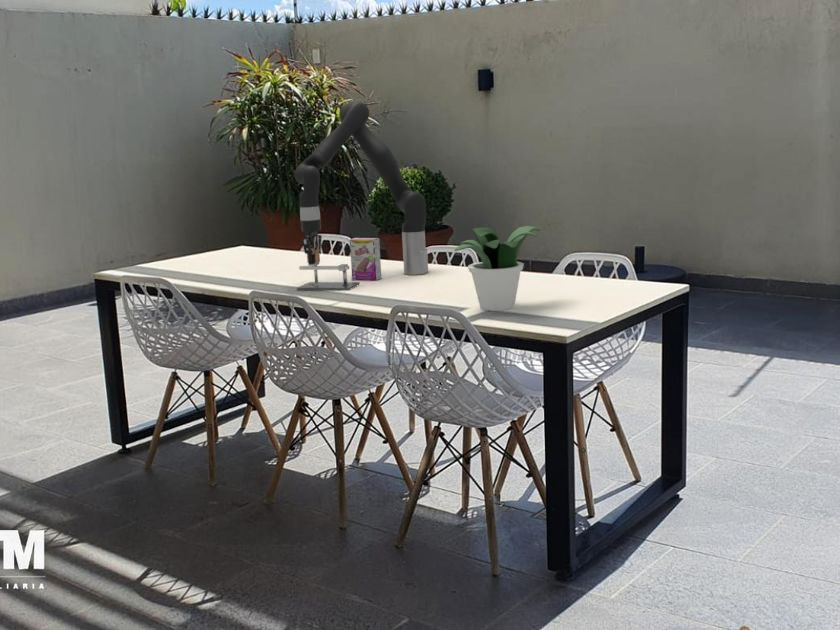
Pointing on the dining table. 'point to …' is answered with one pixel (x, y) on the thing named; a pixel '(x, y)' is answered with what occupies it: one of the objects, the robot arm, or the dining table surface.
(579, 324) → the dining table surface
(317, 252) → the block
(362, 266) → the candy bar box
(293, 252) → the dining table surface
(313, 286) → the bolt plate
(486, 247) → the potted plant
